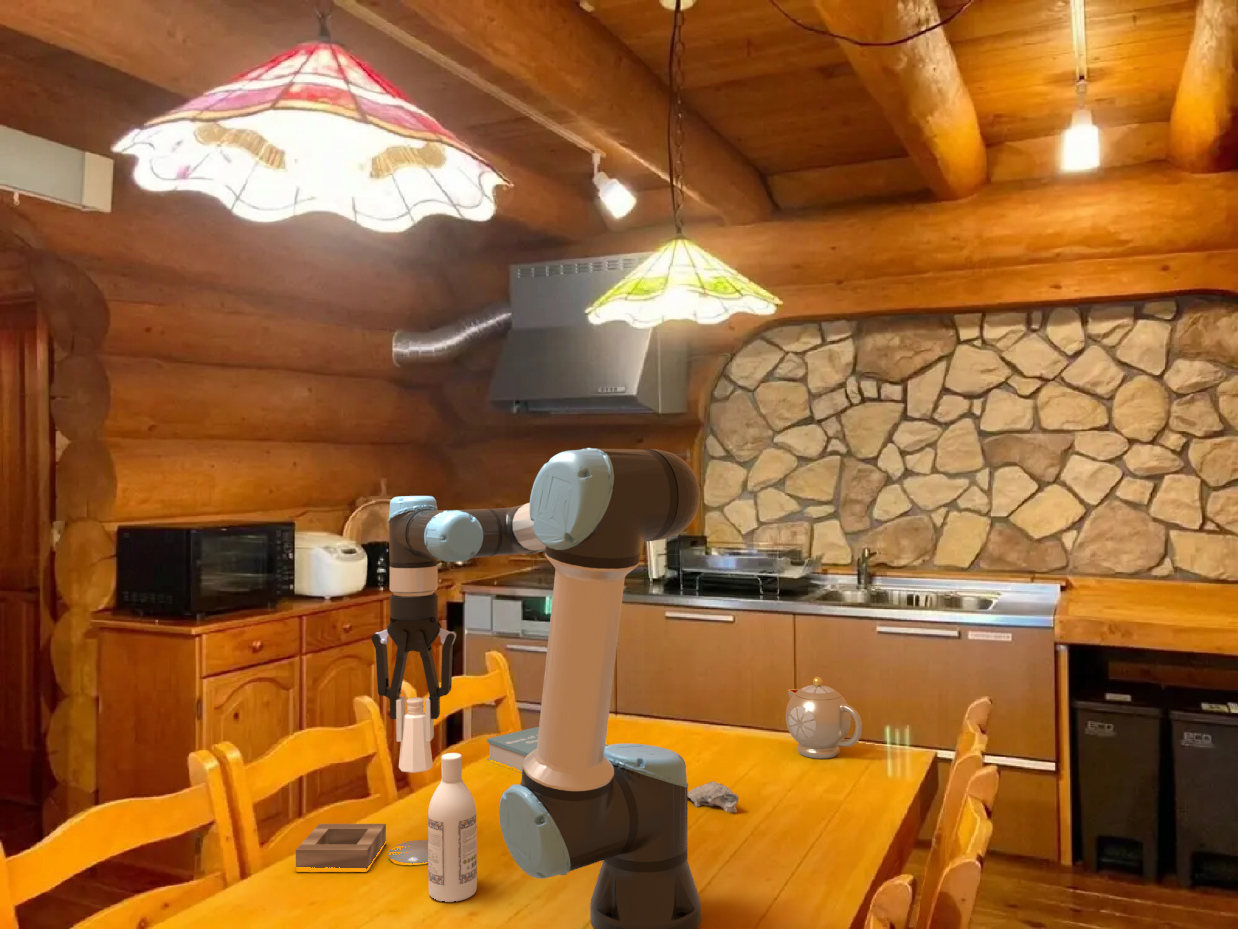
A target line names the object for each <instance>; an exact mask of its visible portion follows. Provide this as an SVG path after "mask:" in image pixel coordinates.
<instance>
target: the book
mask: <svg viewBox="0 0 1238 929" xmlns="http://www.w3.org/2000/svg"><path fill="white" fill-rule="evenodd" d="M538 733H539V726H536V727H531V728H527V729H523V730H518V731H514V732H511V733H507V734H502V735H501V734H500V735H497V736H494V737H489V738H486V742H487V743H488V744H489V745H488V746H489V758H487V760H489V759H490V760H493V761H496V762H500V763H502V764H505V765H507V766H510V767H514V768H516V769H518V770H520V771H522V770H523V762H524V759H525V758H526V756H527V755H528V754H529V753H531V752H532V751H534V750H535V749H537V742H538ZM609 745H610V744H607V743H606V744H605V747H606V746H609Z"/></svg>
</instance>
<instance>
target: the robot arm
mask: <svg viewBox="0 0 1238 929" xmlns="http://www.w3.org/2000/svg"><path fill="white" fill-rule="evenodd" d="M530 492H531V493H530V497H529V502H527V503H525V504H520V505H516V506H512V507H500V508H477V509H476V508H475V509H470V508H469V509H450V510H449V509H448V510H447V509H445V510H444V509H443V510H441V509H440V510H439V509H438V505H437V500H436V499H435V497H434V496H432V495H409V496H408V495H407V496H406V495H405V496H402V495H401V496H395V497H393V498H392V499H390V502H389V514H388V519H387V523H388V539H389V540H388V542H389V543H388V544H389V546H388V548H389V591H390V592H392V593H393V594H391V595H390V596H389V623H388V624H387V627H386V629H384V630H381V631H376V632H374V633H373V634H372V635H371V637H370V638H371V641H372V644H373V646H374V649H375V664H376V681H377V682H376V684H377V694H378V695H379V696H380V697H381V696H382V697H386V698H388V700H389V716H390V720H395V723H396V724H395V725H396V727H395V728H396V734H395V735H396V742H397V743H398V742H400V743H401V741H402V733H403V716H404V715H405V714H406V696H405V695H404V696H401V694H402V691H401V690H402V686H403V682H404V681H403V680H404V676H405V675H404V674H405V670H406V666H407V660H408V656H409V652H417V653H419V656H420V659H421V662H422V665H423V666H422V667H423V672H424V675H425V680H426V685H427V690H428V693H429V694H428V695H429V696H427V698H426V699H424V713H425V741H430V742H431V741H432V740H433V738H434V737H435V730H434V727H435V726H434V724H435V723H434V722H435V721H434V720H437V719H439V717H440V715H441V703H440V702H441V697H444V696H447V695H448V694H449V693H450V692H451V690H452V685H453V684H452V681H453V680H452V678H453V677H452V676H453V651H454V649H453V648H454V644H455V641H456V639H457V635H458V633H457V631H454V630H453V631H449V630H447V629H445V628H442V625H441V622H440V621H439V606H438V605H439V598H438V597H439V595H438V594H437V593H436V592H435V591H437V589H438V588H439V586H438V584H439V583H438V582H439V581H438V580H439V579H438V571H439V570H438V560H440V561H443V562H445V563H452V562H456V563H457V562H466V561H468V560H470V559H477V558H486V557H487V558H488V557H494V556H495V557H496V556H511V555H531V554H532V555H533V554H536V553H541V552H544V556H545V557H546V558H547V560H548V561H549V562H550V564H552V566H553V567H554V569H555V572H554V582H553V591H552V601H551V611H550V620H549V621H550V622H549V630H548V639H547V648H546V658H545V668H544V679H543V686H542V696H541V704H540V705H541V706H540V713H539V714H540V715H539V723H538V727H539V733H538V742H537V749H535V750H534V751H532V752H531V753H529V754H528V755H527V756H526V758H525V759H524V762H523V770H522V773H521V779H520V780H521V781H520V784H511V785H510V787H508V788H507V789H506V790H505V791H504V792H502V795H501V797H500V801H499V805H498V807H499V808H498V814H499V815H498V816H499V817H498V819H499V824H500V829H501V830H500V831H501V833H502V837H503V840H504V843H505V845H506V846H507V849H508V851H509V853H510V856H511V857H512V859H513V861H514V862H515V863H516V864H517V865H518V866H519V868H520V869H521V871H523V872H524V873H526V874H527V875H528V876H529V877H532V878H535V879H538V880H539V879H540V880H542V879H548V878H552V877H556V876H559V875H560V876H565V875H567V874H569V873H570V872H572V871H575V870H578V869H581V868H584V867H587V866H590V865H593V864H595V863H599V862H601V866H600V869H599V873H598V876H597V879H596V882H595V886H594V888H593V893H592V895H591V899H590V904H589V906H590V907H589V908H590V911H589V912H590V914H589V916H590V924H591V925H592V927H593V928H594V929H698V927H699V926H700V924H701V922H702V902H701V898H700V895H699V892H698V889H697V886H696V883H695V879H694V877H693V874H692V871H691V867H690V864H689V860H688V859H689V858H688V857H689V856H688V855H689V854H688V801H689V800H688V799H689V798H688V792H689V791H688V788H689V783H688V782H687V780H688V779H687V765H686V762H685V759H684V758H683V757H682V756H681V754H679V753H677V752H675V751H674V750H671V749H668V748H664V747H662V746H661V747H660V746H656V745H649V744H642V743H641V744H640V743H613V744H608V745H609V746H606V747H605V744H606V745H607V734H608V727H609V726H608V725H609V717H610V715H609V714H610V709H611V708H610V706H611V700H612V699H611V698H612V690H613V684H614V683H613V681H614V673H615V664H616V657H617V656H616V655H617V648H618V640H619V631H620V622H621V616H622V615H621V614H622V603H623V597H624V596H623V595H624V587H625V579H626V576H627V575H628V574H629V573H631V572H632V571H633V570H635V569H636V568H637V567H639V564H640V557H641V556H640V555H641V550H642V548H641V547H642V543H645V542H653V541H661V540H662V541H663V540H665V539H669V538H673V537H674V536H677V535H679V534H680V533H681V532H684V531H685V530H686V529H687V528H688V527H689V526H690V525H691V524H692V522H693V521H694V520H695V517H696V515H697V514H698V512H699V507H700V504H701V488H700V484H699V480H698V477H697V475H696V473H695V472H694V470H693V468H692V467H691V466H690V465H689V464H688V463H687V462H686V461H685V460H684V459H683V458H681V457H680V456H679V455H678V456H677V455H676V454H674V453H672V452H669V451H666V450H662V449H657V448H647V449H645V448H644V449H635V448H634V449H629V448H592V447H586V448H582V449H574V450H573V449H572V450H565V451H561V452H559V453H557V454H555V455H554V456H552V457H550V459H549V461H548V462H546V463H544V464H543V466H542V467H541V468H540V470H539V471H538V473H537V475H536V476H535V479H534V482H533V485H532V489H531V491H530ZM438 636H439V637H440V644H442V649H441V650H442V651H441V672H440V673H441V679H440V681H441V682H440V685H439V679H438V674H437V669H436V663H435V660H434V659H435V658H434V655H433V652H434V650H433V647H432V646H433V643H435V641H436V639H437V637H438ZM389 637H390V638H391V640H392V641H393V642H394V644H395V646H396V647H397V649H396V655H395V662H394V668H393V673H392V679H391V684H390V679H389V678H390V677H389V661H388V659H389V657H388V645H387V644H388V642H389Z"/></svg>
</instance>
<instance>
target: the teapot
mask: <svg viewBox="0 0 1238 929" xmlns="http://www.w3.org/2000/svg"><path fill="white" fill-rule="evenodd" d="M823 682H824V681H823V678H821V677H820V676H814V677H813V679H812V683H813V684H810V685H806V686H804V687H802V688H799V689H796V688H792V689H791V688H789V689H787V694H788V697H789V701H788V702H787V704H786V705H787V706H786V709H785V723H786V727H787V730H788V732H789V733H790V736H791V737H792V738H793V739H794V740H795V741H796V742H797V744H798V745H797V747H796V749H797V752H798V753H799V754H800V755H802V756H803V757H807V758H810V759H818V760H819V759H820V760H823V759H831V758H835V757H837V756H838V755H839V754H840V752H841V750H840V749H841V748H840V747H842V748H850V747H853V746H855V745H856V744H857V743H858V742H859V740H860V738H861V737H862V733H863V722H862V717H861V716H860V714H859V712H858V711H857V709H856V708H854V707H853V706H851V705H849V704H848V702H847V701H846V699H845V698H844V696H842V695H841V693H840V692H838V691H837V690H835V689H834V688H832V687H830V686H827V685H823ZM852 718H853V720H854V726H855V727H854V733H853V734H852V736H851V737H850V738H847V739H846V737H847V735H849V734H848V733H849V731H850V727H851V722H852Z"/></svg>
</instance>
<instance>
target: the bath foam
mask: <svg viewBox="0 0 1238 929" xmlns="http://www.w3.org/2000/svg"><path fill="white" fill-rule="evenodd" d="M462 756H463V755H462V754H460V753H458V752H449V753H445V754H442V755H441V758H440V760H441V765H440V766H441V768H440V769H441V781H440V783H439V784H438V786H437V787H436V789H435V791H434V792H433V794H432V796H431V798H430V802H429V805H428V809H427V811H428V812H427V840H428V864H427V866H428V867H427V868H428V870H427V871H428V872H427V873H428V876H427V877H428V894H429V896H430V897H431V898H432V899H433V898H434V899H433V900H435V899H436V900H435V901H437V902H438V901H439V902H442V901H445V902H444V903H454V901H456V902H460V901H464V900H467V899H469V898H471V897H472V896H474V894H475V893H476V891H477V889H478V879H477V878H478V858H477V857H478V854H477V850H478V847H477V846H478V844H477V842H478V841H477V836H478V835H477V808H476V801H475V798H474V796H473V794H472V793H471V791H470V789H469V788H468V786H467V785H466V783H465V782H464V781H463V779H462V778H463V765H462V764H463V762H462V761H463V760H462V759H463V757H462Z"/></svg>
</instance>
